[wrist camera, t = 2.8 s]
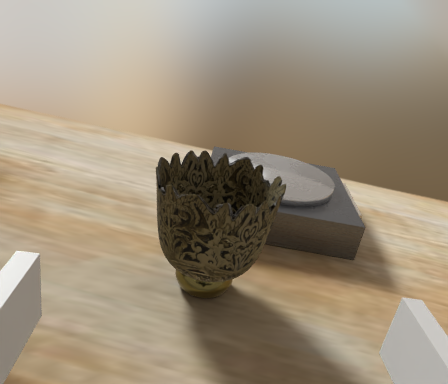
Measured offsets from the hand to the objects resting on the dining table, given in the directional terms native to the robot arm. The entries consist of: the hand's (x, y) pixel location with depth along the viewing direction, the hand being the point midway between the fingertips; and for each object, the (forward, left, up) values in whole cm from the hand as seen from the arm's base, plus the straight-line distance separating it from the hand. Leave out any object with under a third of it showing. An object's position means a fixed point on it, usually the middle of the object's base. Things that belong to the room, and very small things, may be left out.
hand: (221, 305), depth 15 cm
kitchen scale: (+4, +23, -7) cm, 24 cm away
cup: (-1, +10, -7) cm, 12 cm away
